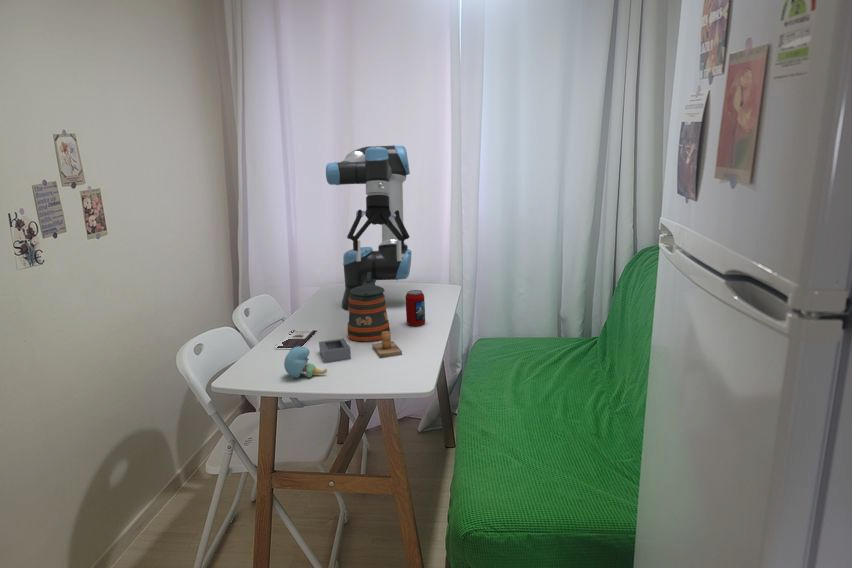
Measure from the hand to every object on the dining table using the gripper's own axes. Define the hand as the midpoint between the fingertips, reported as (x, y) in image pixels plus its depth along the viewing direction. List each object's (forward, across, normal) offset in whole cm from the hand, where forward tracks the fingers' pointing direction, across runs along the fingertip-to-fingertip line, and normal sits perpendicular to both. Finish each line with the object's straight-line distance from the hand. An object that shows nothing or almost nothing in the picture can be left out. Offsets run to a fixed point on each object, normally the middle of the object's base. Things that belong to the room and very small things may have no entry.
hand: (379, 261), depth 198 cm
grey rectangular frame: (+29, -15, 0) cm, 33 cm away
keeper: (+29, +1, -4) cm, 29 cm away
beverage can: (+22, +18, +18) cm, 33 cm away
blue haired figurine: (+34, -26, -13) cm, 45 cm away
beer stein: (+24, 0, +16) cm, 29 cm away
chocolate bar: (+26, -24, +20) cm, 41 cm away
